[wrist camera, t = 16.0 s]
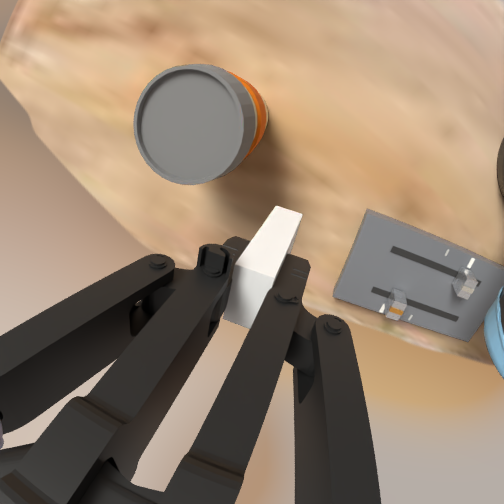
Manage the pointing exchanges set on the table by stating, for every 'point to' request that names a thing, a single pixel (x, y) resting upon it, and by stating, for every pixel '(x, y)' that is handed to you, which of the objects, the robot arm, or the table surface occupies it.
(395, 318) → the fader
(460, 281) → the fader
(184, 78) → the reusable coffee cup
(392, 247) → the console
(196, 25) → the table surface
